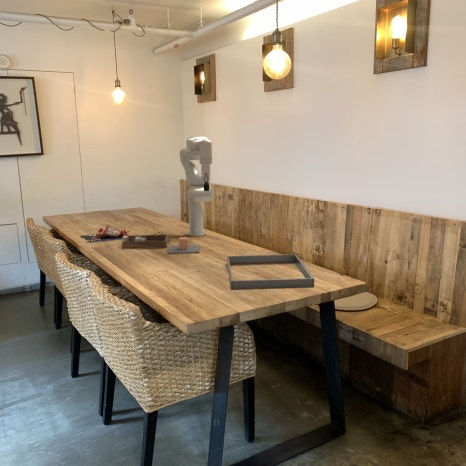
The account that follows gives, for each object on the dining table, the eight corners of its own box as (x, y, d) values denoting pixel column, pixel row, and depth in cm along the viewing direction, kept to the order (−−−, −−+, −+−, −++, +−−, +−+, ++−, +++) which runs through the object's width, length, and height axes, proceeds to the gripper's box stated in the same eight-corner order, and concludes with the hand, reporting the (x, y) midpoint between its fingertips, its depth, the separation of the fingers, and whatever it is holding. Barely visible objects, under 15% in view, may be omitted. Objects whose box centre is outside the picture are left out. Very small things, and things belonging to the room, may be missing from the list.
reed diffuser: (131, 234, 286) (162, 227, 295) (132, 243, 290) (162, 236, 299) (137, 243, 279) (168, 236, 288) (137, 252, 283) (168, 245, 292)
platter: (131, 232, 331) (130, 219, 328) (138, 240, 306) (137, 227, 304) (79, 237, 318) (78, 224, 316) (83, 246, 294) (82, 232, 291)
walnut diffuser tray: (127, 241, 295) (127, 235, 295) (169, 240, 297) (168, 234, 296) (122, 248, 277) (122, 242, 276) (166, 247, 278) (165, 241, 277)
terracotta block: (180, 247, 274) (179, 237, 273) (188, 247, 275) (188, 237, 273) (179, 249, 269) (179, 239, 268) (188, 249, 270) (187, 239, 268)
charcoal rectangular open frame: (227, 263, 240) (226, 256, 240) (296, 261, 242) (296, 254, 241) (230, 290, 198) (230, 281, 197) (314, 287, 200) (314, 278, 199)
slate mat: (170, 246, 280) (169, 245, 280) (199, 245, 281) (199, 244, 281) (167, 253, 263) (167, 252, 263) (199, 253, 264) (199, 251, 264)
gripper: (199, 160, 285) (200, 188, 288) (199, 162, 268) (200, 191, 271) (212, 160, 285) (212, 188, 288) (212, 161, 268) (212, 191, 271)
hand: (206, 190), depth 280 cm, fingers open, 9 cm apart
